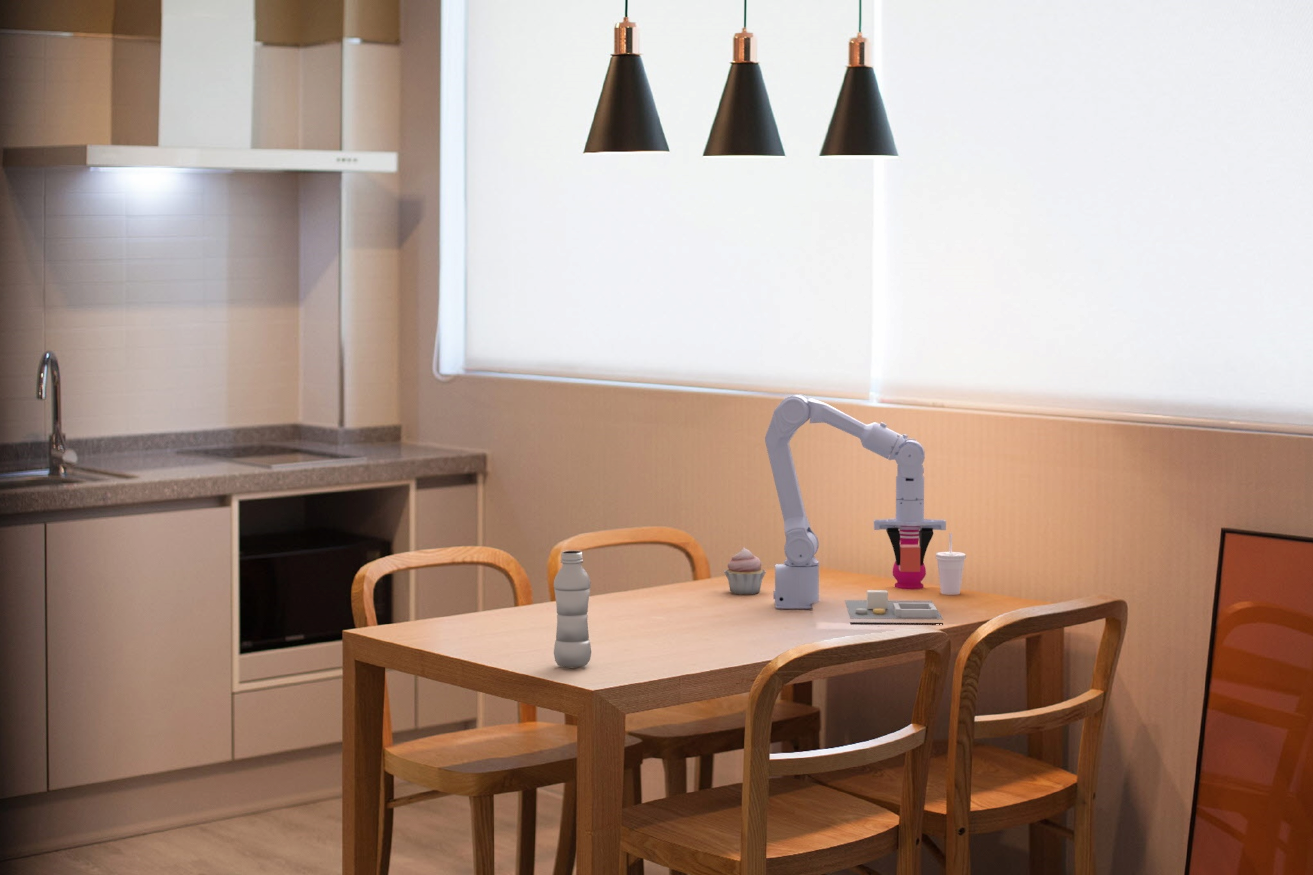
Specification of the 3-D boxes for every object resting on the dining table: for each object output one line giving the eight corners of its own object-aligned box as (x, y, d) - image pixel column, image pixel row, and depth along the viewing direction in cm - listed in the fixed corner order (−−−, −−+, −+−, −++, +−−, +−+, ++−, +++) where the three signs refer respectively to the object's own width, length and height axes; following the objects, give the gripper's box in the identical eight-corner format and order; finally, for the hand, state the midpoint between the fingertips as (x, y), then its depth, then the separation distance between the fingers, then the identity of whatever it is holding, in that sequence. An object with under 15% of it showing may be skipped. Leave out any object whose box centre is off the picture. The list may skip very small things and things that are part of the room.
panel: (850, 624, 302) (850, 610, 302) (844, 605, 322) (844, 593, 322) (943, 625, 301) (943, 611, 300) (931, 606, 321) (931, 593, 320)
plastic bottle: (547, 669, 264) (546, 553, 262) (563, 661, 270) (562, 548, 269) (582, 672, 262) (580, 555, 260) (597, 664, 268) (596, 550, 266)
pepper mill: (892, 588, 342) (892, 499, 341) (925, 589, 341) (925, 499, 340) (892, 594, 335) (893, 503, 334) (926, 595, 334) (926, 503, 333)
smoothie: (964, 596, 333) (964, 531, 332) (967, 601, 326) (967, 535, 325) (933, 595, 333) (934, 531, 332) (936, 601, 327) (936, 535, 326)
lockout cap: (900, 571, 315) (900, 547, 315) (898, 568, 319) (898, 544, 319) (920, 571, 315) (920, 547, 314) (918, 568, 319) (918, 544, 318)
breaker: (867, 608, 311) (867, 592, 310) (866, 606, 313) (866, 590, 313) (887, 609, 310) (887, 592, 310) (886, 606, 313) (886, 590, 313)
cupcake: (744, 587, 345) (744, 543, 344) (774, 592, 338) (774, 547, 338) (714, 592, 339) (714, 547, 338) (745, 597, 332) (745, 551, 331)
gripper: (875, 501, 312) (875, 567, 313) (948, 501, 311) (947, 567, 312) (873, 497, 319) (872, 562, 320) (943, 497, 318) (943, 562, 319)
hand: (909, 564), depth 317 cm, fingers closed on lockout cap, 4 cm apart
